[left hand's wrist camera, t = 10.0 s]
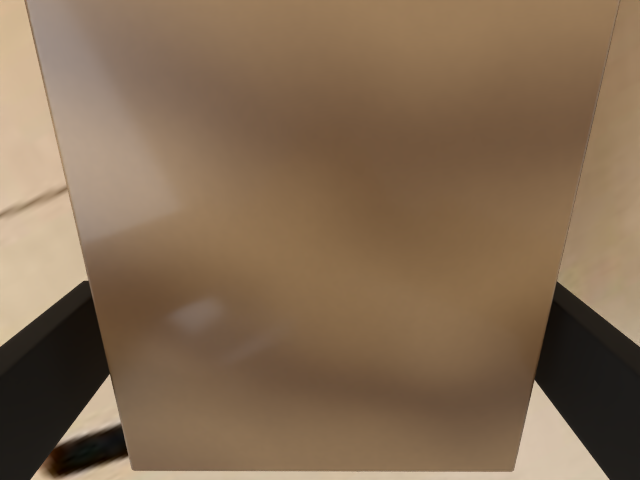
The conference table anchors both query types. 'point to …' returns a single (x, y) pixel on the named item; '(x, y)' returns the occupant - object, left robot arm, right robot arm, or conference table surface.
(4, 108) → the conference table surface
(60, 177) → the conference table surface
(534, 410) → the conference table surface
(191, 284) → the cabinet
